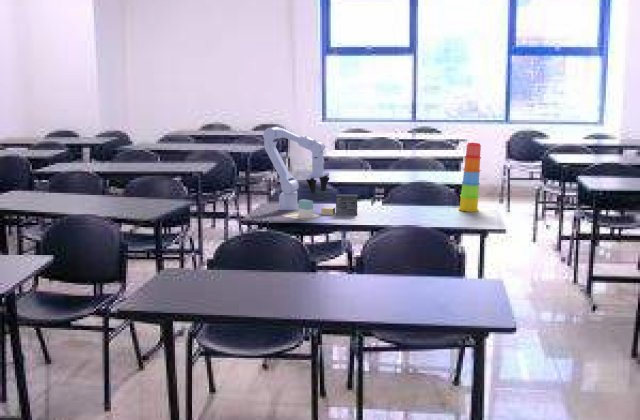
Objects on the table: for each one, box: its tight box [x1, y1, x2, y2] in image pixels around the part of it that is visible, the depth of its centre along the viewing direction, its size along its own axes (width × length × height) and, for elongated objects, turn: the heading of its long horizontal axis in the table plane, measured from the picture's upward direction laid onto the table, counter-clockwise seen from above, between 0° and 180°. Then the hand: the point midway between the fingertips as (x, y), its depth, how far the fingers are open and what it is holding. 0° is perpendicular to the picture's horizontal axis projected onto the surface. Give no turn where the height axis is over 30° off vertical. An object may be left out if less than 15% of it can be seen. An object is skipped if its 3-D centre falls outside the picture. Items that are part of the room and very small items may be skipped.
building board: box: [280, 211, 323, 221], centre depth 362 cm, size 16×14×1 cm
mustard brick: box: [320, 206, 336, 216], centre depth 365 cm, size 6×4×4 cm, turn 72°
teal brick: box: [298, 198, 314, 210], centre depth 358 cm, size 6×4×4 cm, turn 46°
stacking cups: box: [458, 142, 482, 213], centre depth 374 cm, size 10×10×35 cm
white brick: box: [297, 207, 314, 218], centre depth 359 cm, size 6×4×4 cm, turn 46°
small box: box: [335, 193, 358, 217], centre depth 364 cm, size 11×6×10 cm, turn 84°
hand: (318, 191), depth 372 cm, fingers open, 7 cm apart
